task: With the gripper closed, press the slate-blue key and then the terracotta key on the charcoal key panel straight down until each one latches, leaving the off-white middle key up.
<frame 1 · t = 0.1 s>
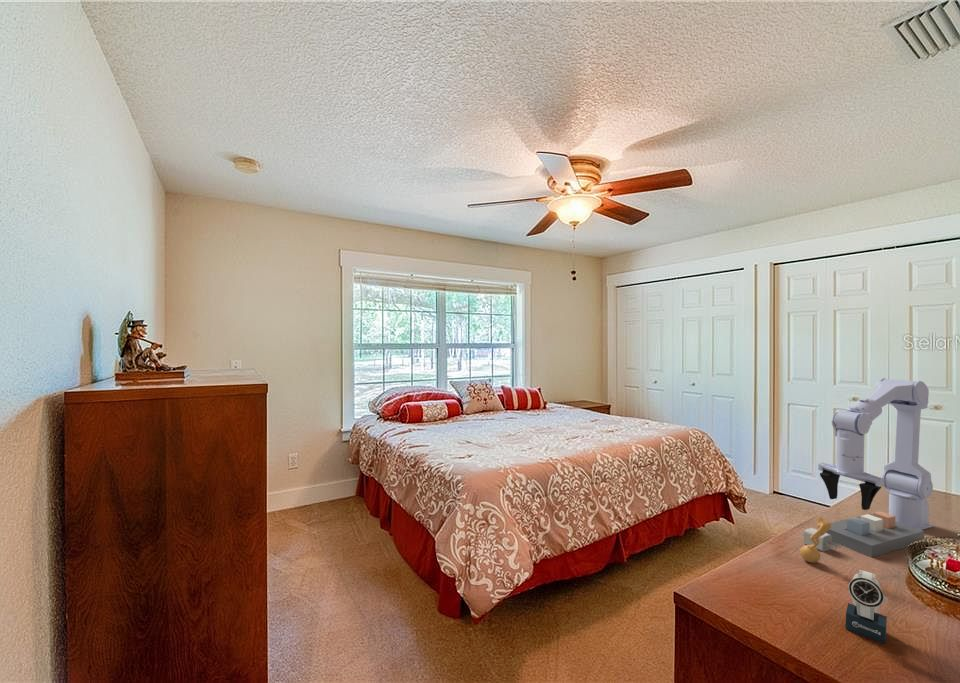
hand: (848, 503, 116), 10 cm above the dresser, tool pointing down, fingers open, 7 cm apart
white key: (871, 523, 117), point 4 cm above the dresser, slide at 0.0 cm
figurine: (814, 564, 104), on the dresser
terracotta key: (884, 520, 119), point 4 cm above the dresser, slide at 0.0 cm
watch: (866, 632, 80), on the dresser
usb wall charger: (822, 549, 111), on the dresser
key panel: (871, 538, 117), on the dresser
blue key: (858, 527, 115), point 4 cm above the dresser, slide at 0.0 cm
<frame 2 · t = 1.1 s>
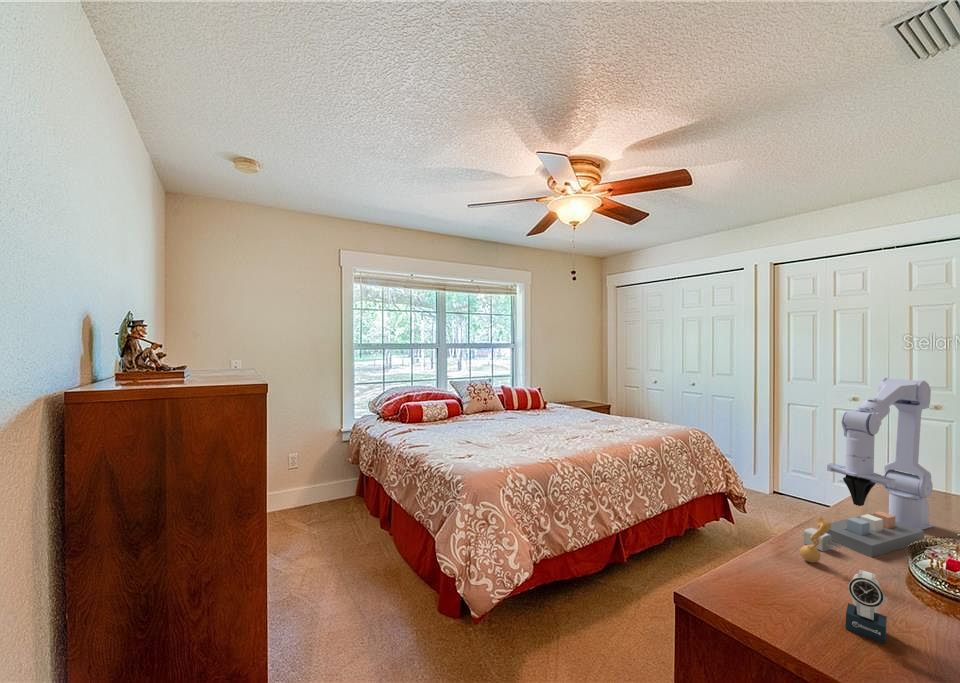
hand: (858, 504, 114), 10 cm above the dresser, tool pointing down, fingers closed
nothing on the dresser moved.
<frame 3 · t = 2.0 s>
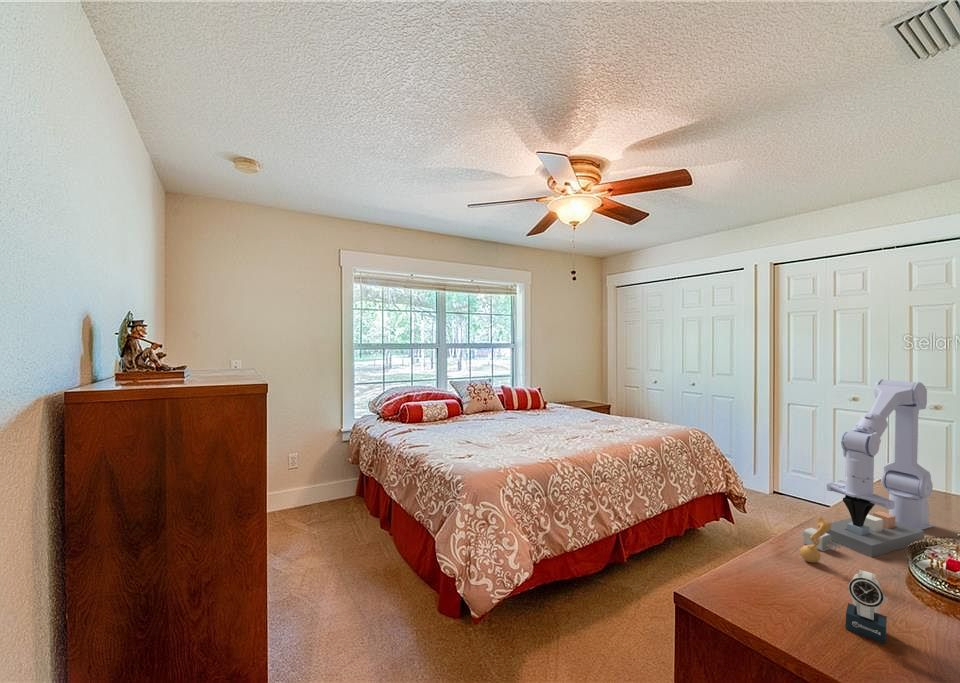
hand: (858, 525, 115), 5 cm above the dresser, tool pointing down, fingers closed, pressing on blue key
blue key: (858, 531, 115), point 3 cm above the dresser, slide at 1.2 cm, touching gripper
everything else where it was.
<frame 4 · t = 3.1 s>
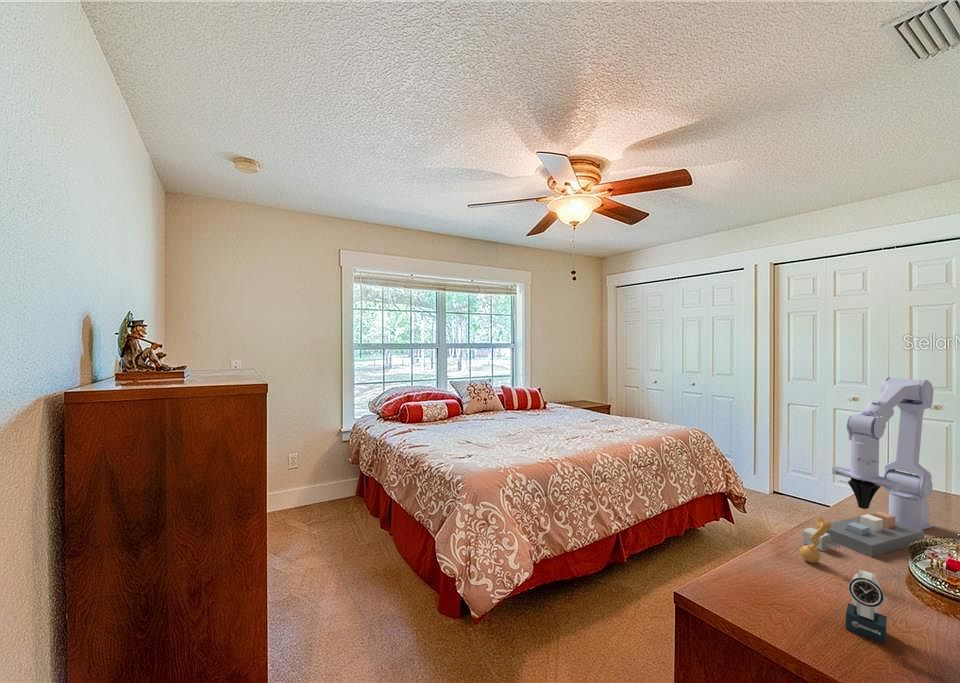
hand: (863, 507, 115), 9 cm above the dresser, tool pointing down, fingers closed
blue key: (858, 532, 115), point 3 cm above the dresser, slide at 1.4 cm
everything else where it was.
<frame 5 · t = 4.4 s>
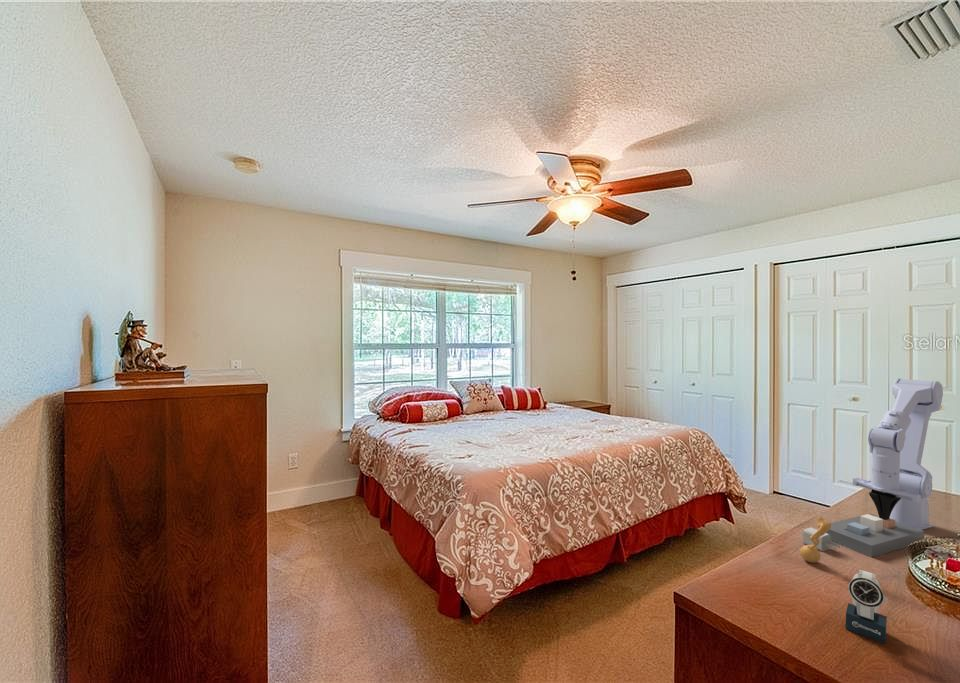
hand: (884, 518, 119), 5 cm above the dresser, tool pointing down, fingers closed, pressing on terracotta key
terracotta key: (884, 524, 119), point 3 cm above the dresser, slide at 1.2 cm, touching gripper
everything else where it was.
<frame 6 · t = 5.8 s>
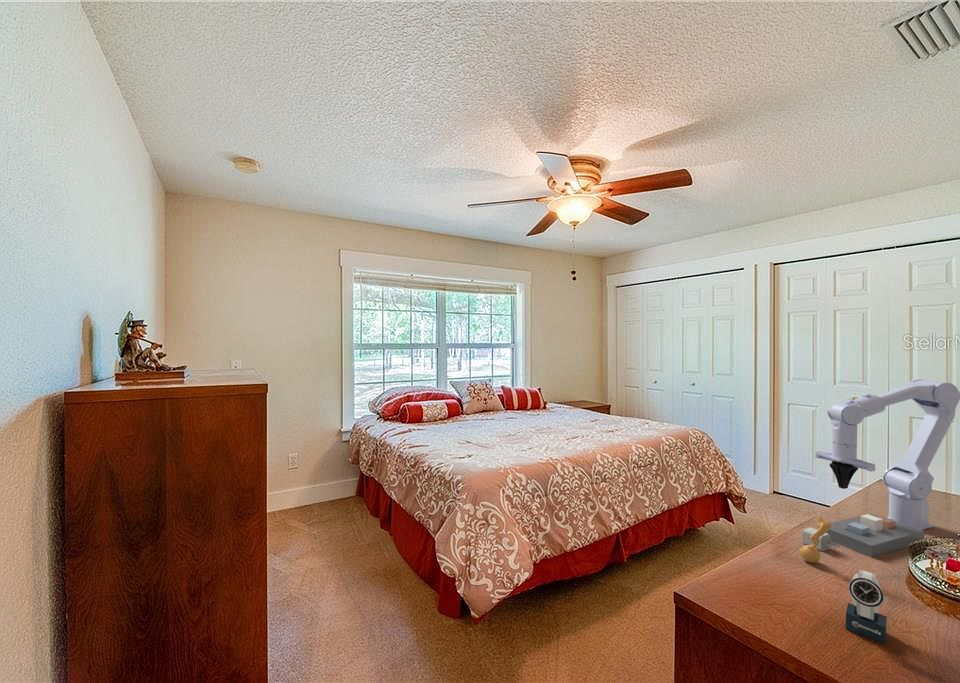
hand: (843, 487, 127), 10 cm above the dresser, tool pointing down, fingers closed
terracotta key: (884, 525, 119), point 3 cm above the dresser, slide at 1.4 cm
everything else where it was.
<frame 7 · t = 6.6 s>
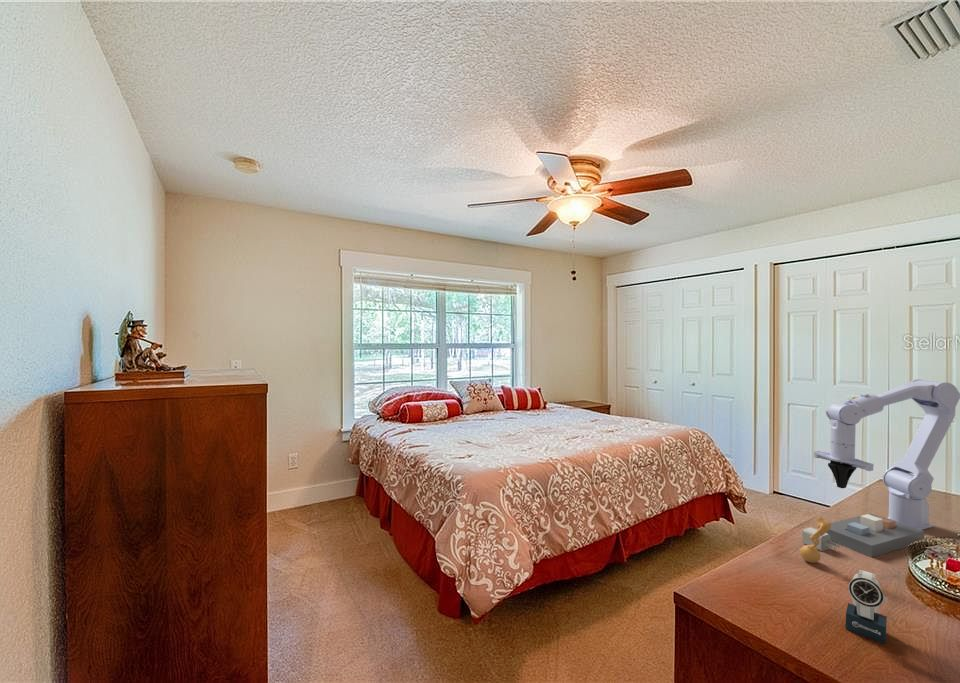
hand: (841, 487, 128), 10 cm above the dresser, tool pointing down, fingers closed
nothing on the dresser moved.
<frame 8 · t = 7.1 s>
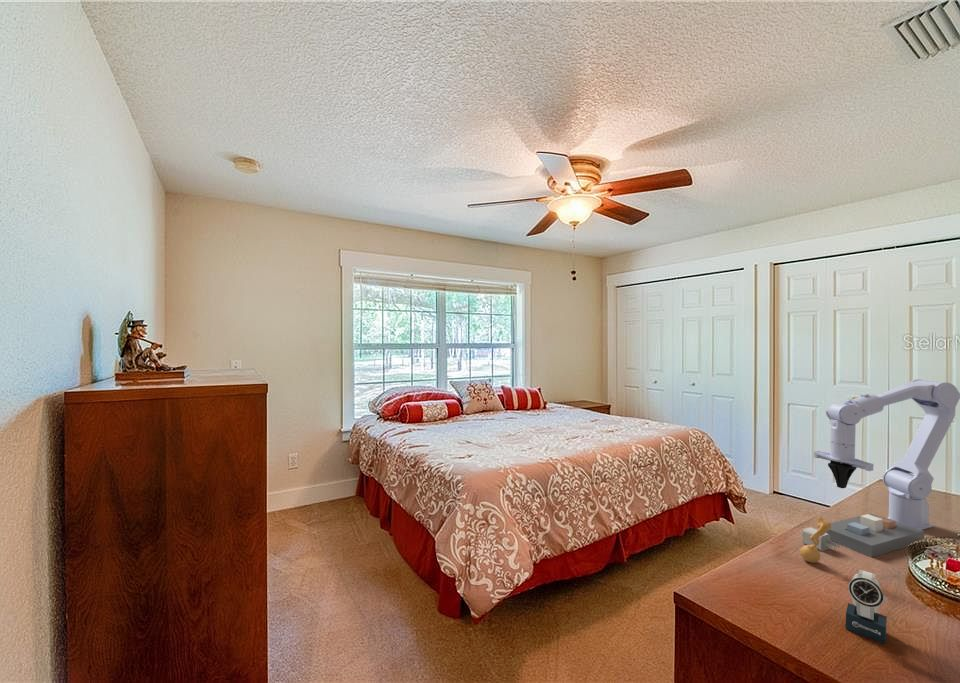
hand: (841, 487, 128), 10 cm above the dresser, tool pointing down, fingers closed
nothing on the dresser moved.
at the end: blue key slide at 1.4 cm; terracotta key slide at 1.4 cm; white key slide at 0.0 cm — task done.
